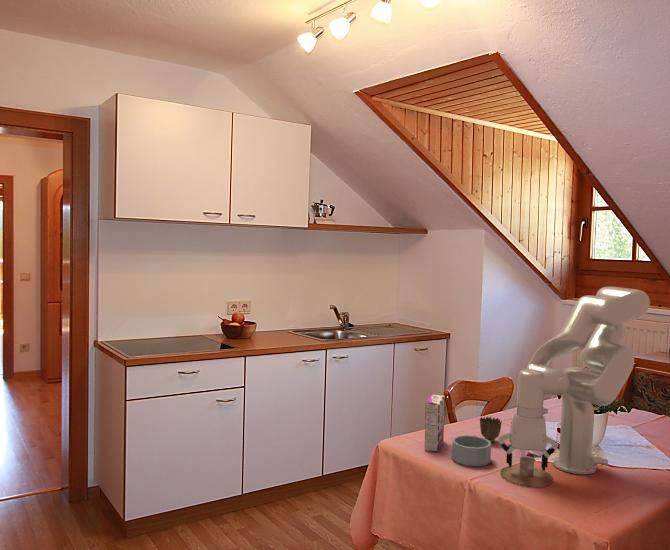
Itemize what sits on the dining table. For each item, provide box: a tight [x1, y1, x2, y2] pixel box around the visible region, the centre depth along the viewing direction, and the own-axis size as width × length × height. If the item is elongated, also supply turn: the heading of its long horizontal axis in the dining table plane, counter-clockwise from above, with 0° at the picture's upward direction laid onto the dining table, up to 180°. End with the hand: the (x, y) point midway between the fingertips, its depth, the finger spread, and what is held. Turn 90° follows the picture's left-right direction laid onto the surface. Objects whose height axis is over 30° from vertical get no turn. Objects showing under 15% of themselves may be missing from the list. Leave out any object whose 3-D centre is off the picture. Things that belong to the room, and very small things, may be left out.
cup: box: [479, 416, 503, 444], centre depth 217 cm, size 8×7×8 cm
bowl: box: [451, 434, 492, 468], centre depth 200 cm, size 12×12×6 cm
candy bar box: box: [424, 394, 446, 453], centre depth 211 cm, size 11×5×16 cm, turn 161°
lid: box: [500, 455, 554, 488], centre depth 187 cm, size 15×15×6 cm
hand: (526, 467), depth 187 cm, fingers open, 9 cm apart
